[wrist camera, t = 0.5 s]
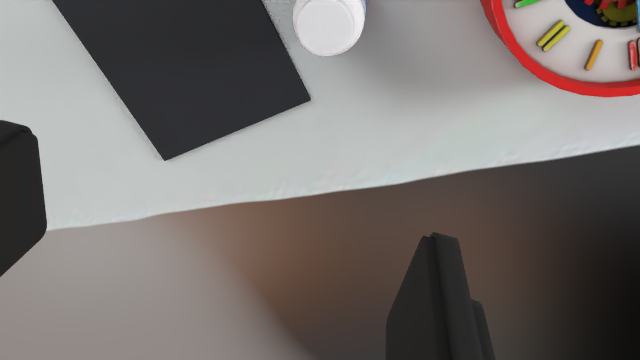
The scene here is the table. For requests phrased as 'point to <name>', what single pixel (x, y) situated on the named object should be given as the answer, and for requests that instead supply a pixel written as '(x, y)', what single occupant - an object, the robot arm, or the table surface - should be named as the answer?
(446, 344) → the robot arm
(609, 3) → the toy clock
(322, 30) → the pill bottle
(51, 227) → the table surface
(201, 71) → the desk mat
